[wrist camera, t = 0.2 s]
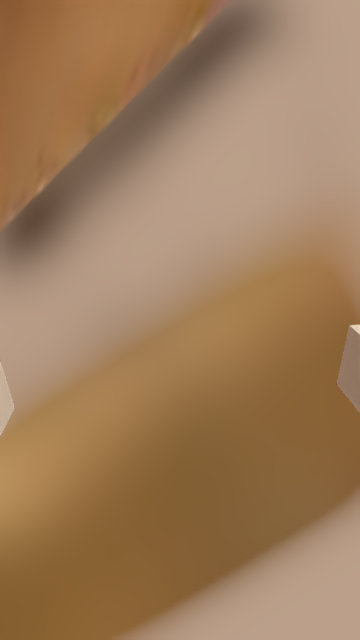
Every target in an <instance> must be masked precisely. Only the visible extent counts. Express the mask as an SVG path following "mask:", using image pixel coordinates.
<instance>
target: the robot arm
mask: <svg viewBox="0 0 360 640" xmlns="http://www.w3.org/2000/svg"><path fill="white" fill-rule="evenodd" d="M337 385H338V386H339V387H340V389H341V390H342V391H343V392H344V394H345V395H346V396H347V397H348V398H349V400H350V401H351V402H352V404H353V405H354V406H355V407H356V409H357V410H358V411H359V412H360V325H351V326H349V331H348V335H347V340H346V344H345V348H344V353H343V358H342V362H341V367H340V371H339V376H338V380H337ZM14 408H15V407H14V404H13V401H12V397H11V394H10V391H9V388H8V384H7V381H6V378H5V374H4V371H3V368H2V365H1V361H0V436H1V434H2V432H3V430H4V428H5V426H6V424H7V422H8V420H9V418H10V416H11V414H12V412H13V410H14Z"/></svg>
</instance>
